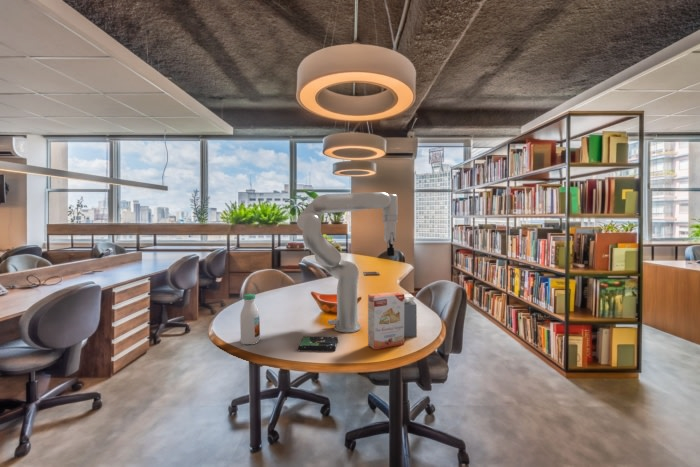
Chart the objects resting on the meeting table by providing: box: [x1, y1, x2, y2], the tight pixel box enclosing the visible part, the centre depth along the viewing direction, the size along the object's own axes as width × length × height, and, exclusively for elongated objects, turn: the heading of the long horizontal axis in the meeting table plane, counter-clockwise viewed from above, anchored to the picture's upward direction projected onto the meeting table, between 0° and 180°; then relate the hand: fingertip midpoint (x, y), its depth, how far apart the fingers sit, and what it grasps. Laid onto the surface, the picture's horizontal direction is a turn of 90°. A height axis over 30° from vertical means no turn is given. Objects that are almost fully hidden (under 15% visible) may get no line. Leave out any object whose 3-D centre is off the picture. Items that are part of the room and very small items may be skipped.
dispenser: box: [404, 300, 418, 338], centre depth 140 cm, size 8×8×14 cm
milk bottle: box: [239, 293, 261, 345], centre depth 132 cm, size 8×8×20 cm
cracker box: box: [367, 291, 405, 350], centre depth 127 cm, size 14×6×21 cm, turn 114°
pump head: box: [403, 293, 415, 303], centre depth 138 cm, size 6×9×12 cm, turn 1°
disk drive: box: [297, 335, 339, 352], centre depth 127 cm, size 10×3×15 cm
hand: (390, 255), depth 157 cm, fingers closed
